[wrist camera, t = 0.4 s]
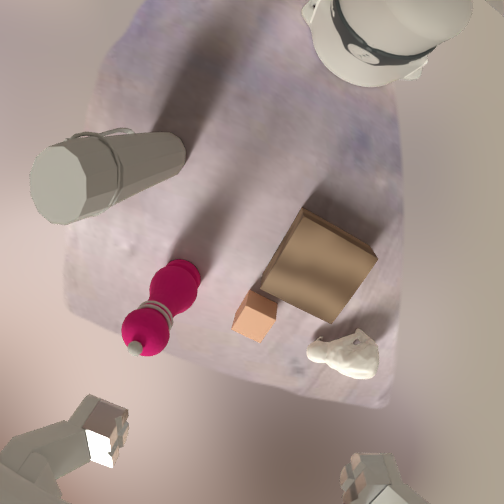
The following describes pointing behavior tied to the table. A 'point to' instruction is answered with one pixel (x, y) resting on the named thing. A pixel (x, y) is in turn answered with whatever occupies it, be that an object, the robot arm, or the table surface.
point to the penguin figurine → (347, 355)
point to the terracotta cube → (255, 316)
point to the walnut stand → (317, 267)
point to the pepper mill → (161, 308)
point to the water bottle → (101, 171)
